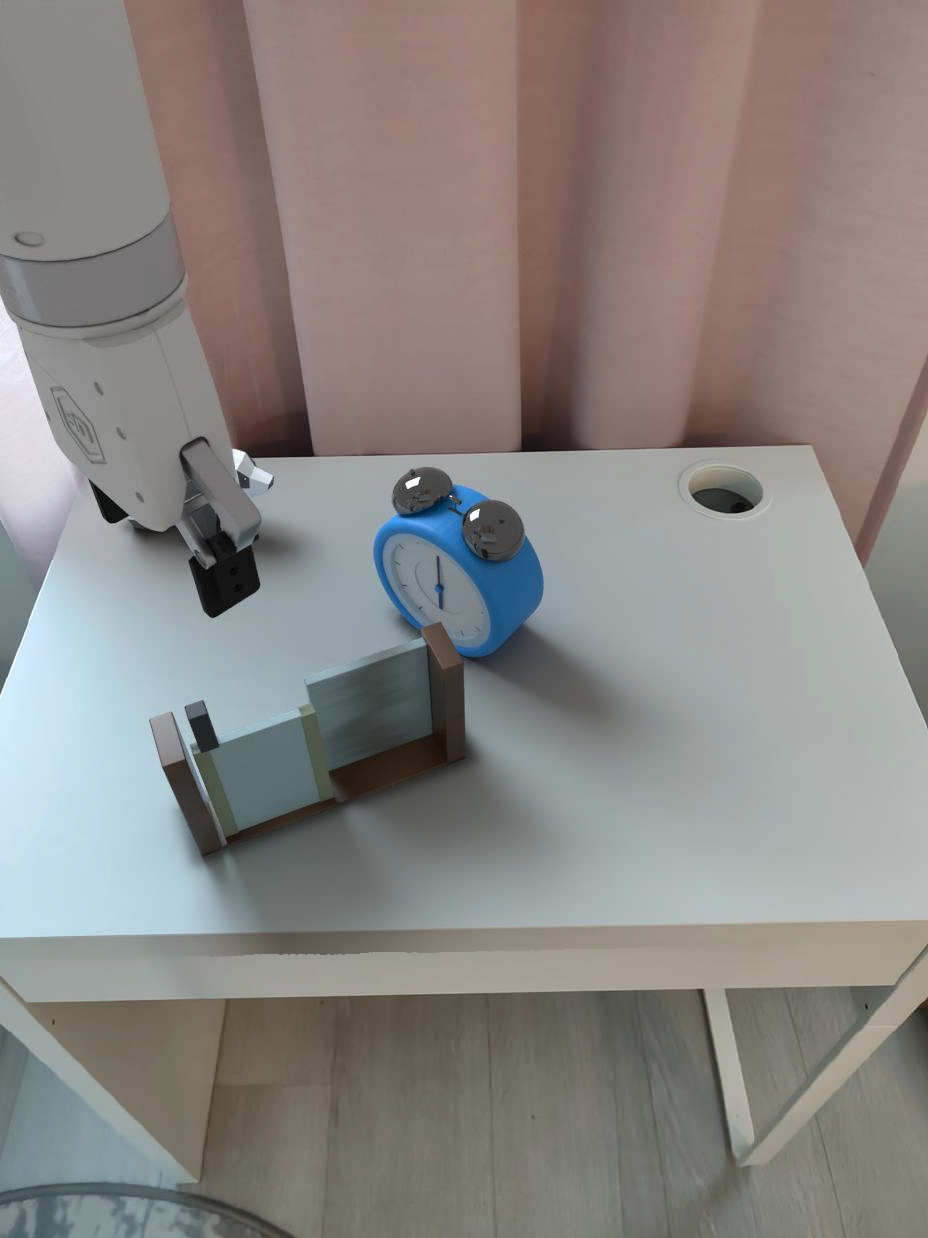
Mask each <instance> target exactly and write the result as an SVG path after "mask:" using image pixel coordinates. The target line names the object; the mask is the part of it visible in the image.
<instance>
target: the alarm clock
mask: <svg viewBox="0 0 928 1238" xmlns="http://www.w3.org/2000/svg"><path fill="white" fill-rule="evenodd" d="M391 505H392V508H393V510H394V512H395V513H396V514H395V515H394V516H393V517H391V518H390V519H389V520H388V521H386V522H385V523H384V524H383V525H382V526H381V527H380V528H379V530H378V531H377V532H376V535H375V538H374V541H373V547H372V550H373V551H372V554H373V562H374V566H375V570H376V573H377V576H378V578H379V581H380V582H381V585H382V588H383V589H384V591H385V592H386V594H387V597H388V598H389V599H390V601H391V602H392V603H393V605H394V606H395V608H396V610H398V612H399V613H400V614H401V615H402V617H403V618H405V620H406V621H407V622H408V623H409V624H410V625H411V626H413V627H414V628H416V629H417V630H419V631H420V632H421V628H423V627H426V626H428V625H431V624H434V623H437V622H441V623H442V625H443V626H444V628H445V630H446V632H447V634H448V635H449V637H450V639H451V641H452V643H453V644H454V646H455V648H456V650H457V652H458V653H459V655H460V656H463V657H468V658H481V657H486V656H489V655H491V654H493V653H494V652H495V651H497V650H498V649H499V648H500V647H501V646H502V645H503V644H504V643H505V642H506V641H507V640H508V639H509V638H510V637H511V636H512V635H513V634H514V633H515V632H516V631H517V630H518V629H519V628H520V626H522V625H523V624H524V623H525V622H526V621H527V620H528V619H529V618H530V617H531V616H532V615H533V614H534V612H535V611H536V610H537V609H538V608H539V606H540V604H541V603H542V599H543V596H544V590H545V589H544V587H545V581H544V574H543V569H542V565H541V561H540V559H539V556H538V554H537V552H536V550H535V548H534V546H533V545H532V543H531V541H530V539H529V537H528V536H527V535H526V529H525V524H524V522H523V519H522V517H521V516H520V514H519V513H518V511H516V509H514V508H513V506H511V505H509V504H508V503H505V502H503V501H501V500H496V499H491V498H489V497H488V496H486V495H484V494H482V493H481V492H480V491H477V490H475V489H472V488H471V487H467V486H463V485H460V484H454V483H453V481H452V479H451V477H450V475H449V474H448V473H447V472H445V471H444V470H442V469H440V468H437V467H434V466H421V467H417V468H410V469H409V471H408V472H406V473H405V474H403V475H402V476H401V477H400V478H399V479H398V480H397V482H396V483H395V485H394V487H393V489H392V492H391Z"/></svg>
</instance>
